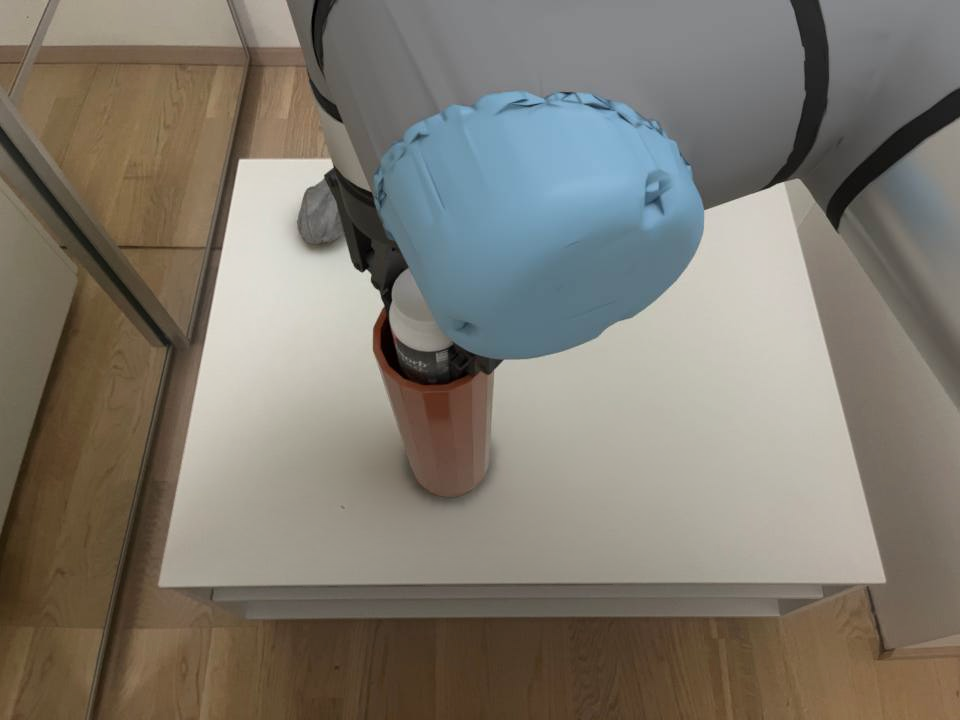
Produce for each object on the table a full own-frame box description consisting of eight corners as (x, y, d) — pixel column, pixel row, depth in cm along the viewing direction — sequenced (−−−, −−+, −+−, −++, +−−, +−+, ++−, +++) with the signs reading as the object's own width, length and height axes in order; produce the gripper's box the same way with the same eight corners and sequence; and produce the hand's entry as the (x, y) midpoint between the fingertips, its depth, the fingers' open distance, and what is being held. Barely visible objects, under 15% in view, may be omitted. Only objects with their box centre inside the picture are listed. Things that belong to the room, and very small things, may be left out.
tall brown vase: (504, 456, 79) (520, 331, 50) (451, 513, 76) (435, 417, 47) (448, 407, 82) (432, 262, 53) (395, 461, 79) (347, 339, 50)
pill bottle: (384, 353, 53) (365, 287, 44) (438, 312, 55) (431, 240, 46) (430, 404, 51) (420, 345, 42) (485, 360, 53) (487, 294, 44)
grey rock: (306, 190, 96) (292, 150, 89) (369, 191, 96) (360, 152, 89) (295, 255, 91) (280, 219, 84) (361, 256, 91) (351, 220, 84)
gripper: (613, 200, 30) (558, 394, 51) (333, 12, 36) (387, 257, 57) (504, 307, 28) (493, 464, 49) (222, 88, 33) (321, 315, 54)
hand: (436, 353), depth 53 cm, fingers closed on pill bottle, 6 cm apart
